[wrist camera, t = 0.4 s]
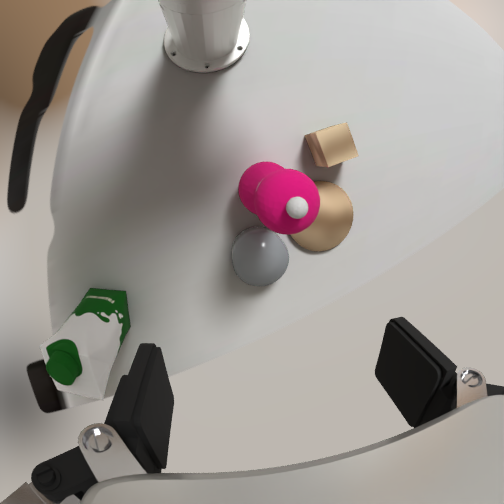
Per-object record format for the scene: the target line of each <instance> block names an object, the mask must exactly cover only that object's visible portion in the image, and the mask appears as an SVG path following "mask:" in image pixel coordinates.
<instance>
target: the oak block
mask: <svg viewBox="0 0 504 504" xmlns="http://www.w3.org/2000/svg"><path fill="white" fill-rule="evenodd" d="M305 138H306V140H307V143H308V146H309V148H310V151H311V153H312V156H313V158H314V161H315V164H316V166H321V167H330V166H333V165H336V164H338V163H341V162H344V161H346V160H349V159H352V158H354V157H357V156H358V153H357V150H356V147H355V144H354V141H353V138H352V135H351V133H350V130H349V127H348V125H347V123H342V124H338V125H334V126H331V127H328V128H325V129H322V130H319V131H316V132H313V133H310V134H307V135H305Z"/></svg>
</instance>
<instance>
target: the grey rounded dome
mask: <svg viewBox="0 0 504 504" xmlns="http://www.w3.org/2000/svg"><path fill="white" fill-rule="evenodd" d="M231 254H232V261H233V267H234V270H235V272H236V274H237V275H238V277H239V278H240V279H241V280H242V281H244V282H245V283H247V284H250V285H253V286H266V285H269V284H272V283H274V282H276V281H277V280H278V279H279V278H281V277H282V275H283V274H284V273H285V271H286V269H287V266H288V263H289V254H288V250H287V247H286V246H285V244H284V243H283V241H282V240H281V239H280V238H279V236H278V235H277V234H276V233H275V232H274V231H272V230H270V229H269V228H266V227H260V226H256V227H251V228H248V229H246V230H244V231H243V232H241V233H240V234H239V235H238V236H237V237H236V239H235V240H234V243H233V245H232V251H231Z"/></svg>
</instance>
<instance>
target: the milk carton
mask: <svg viewBox="0 0 504 504" xmlns="http://www.w3.org/2000/svg"><path fill="white" fill-rule="evenodd" d="M130 327H131V326H130V319H129V312H128V304H127V296H126V291H118V290H107V289H96V288H90V289H89V291H88V292H87V293H86V295H85V296H84V298H83V299H82V301H81V302H80V304H79V305H78V306H77V308H76V309H75V310H74V311H73V313H72V314H71V315H70V316H69V318H68V319H67V320H66V321H65V323H64V324H63V325H62V327H61V328H60V329H59V330H58V332H57V333H55V334H54V335H53V336H51V337H50V338H49V339H48V340H46V341H45V342H44V343H42V344H41V345H40V350H41V353H42V355H43V358H44V361H45V363H46V369H47V371H48V373H49V375H50V376H51V377H52V379H53V381H54V383H55V385H56V388H57V390H60V391H64V392H68V393H72V394H76V395H80V396H85V397H89V398H94V399H99V400H103V399H104V394H105V390H106V386H107V382H108V378H109V374H110V371H111V368H112V366H113V363H114V361H115V359H116V356H117V354H118V352H119V349H120V347H121V345H122V342H123V340H124V338H125V335H126V334H127V332H128V330H129V328H130Z"/></svg>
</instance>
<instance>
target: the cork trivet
mask: <svg viewBox="0 0 504 504" xmlns="http://www.w3.org/2000/svg"><path fill="white" fill-rule="evenodd" d="M314 184H315V185H316V187H317V189H318V192H319V196H320V209H319V212H318V215H317V217H316V219H315V220H314V222H313V223H312V224H311V225H310V226H309V227H308V228H307V229H305V230H303V231H301V232H299V233H296V234H290V235H291V236H292V238H293V239H294V240H295V241H296V242H297V243H298V244H299V245H300V246H302V247H303V248H305V249H308V250H311V251H326V250H329V249H331V248H333V247H335V246H337V245H338V244H339V243H341V242H342V241H343V240H344V238H345V237H346V236H347V234H348V233H349V231H350V228H351V226H352V222H353V207H352V203H351V201H350V199H349V197H348V195H347V194H346V193H345V191H344V190H343V189H342V188H340V187H339V186H337V185H335V184H333V183H330V182H325V181H315V182H314Z"/></svg>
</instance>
